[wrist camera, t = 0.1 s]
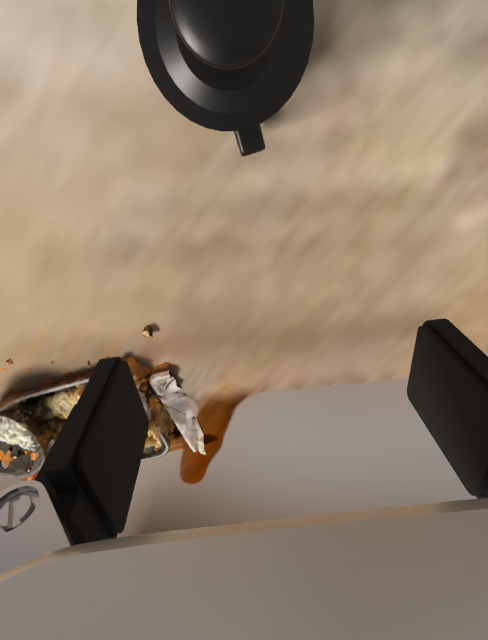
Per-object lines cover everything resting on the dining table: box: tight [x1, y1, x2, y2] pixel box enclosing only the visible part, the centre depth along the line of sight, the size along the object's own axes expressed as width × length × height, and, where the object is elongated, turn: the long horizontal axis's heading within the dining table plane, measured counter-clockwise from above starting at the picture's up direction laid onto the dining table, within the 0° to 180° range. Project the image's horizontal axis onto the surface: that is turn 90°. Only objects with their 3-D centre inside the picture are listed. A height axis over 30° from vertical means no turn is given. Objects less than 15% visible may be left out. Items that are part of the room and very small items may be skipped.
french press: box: [137, 0, 314, 156], centre depth 22 cm, size 12×9×23 cm
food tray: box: [0, 325, 206, 481], centre depth 50 cm, size 35×26×11 cm
